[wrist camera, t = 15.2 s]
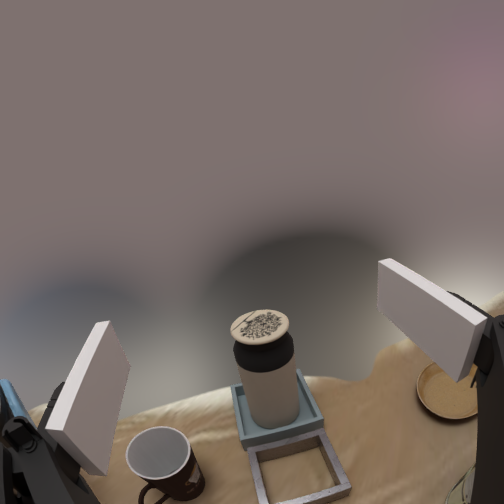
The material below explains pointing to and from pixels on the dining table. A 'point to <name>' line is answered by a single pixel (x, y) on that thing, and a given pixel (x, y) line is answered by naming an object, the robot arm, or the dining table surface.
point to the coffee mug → (165, 464)
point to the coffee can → (462, 489)
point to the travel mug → (267, 367)
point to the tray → (258, 435)
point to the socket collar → (292, 446)
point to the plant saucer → (447, 393)
